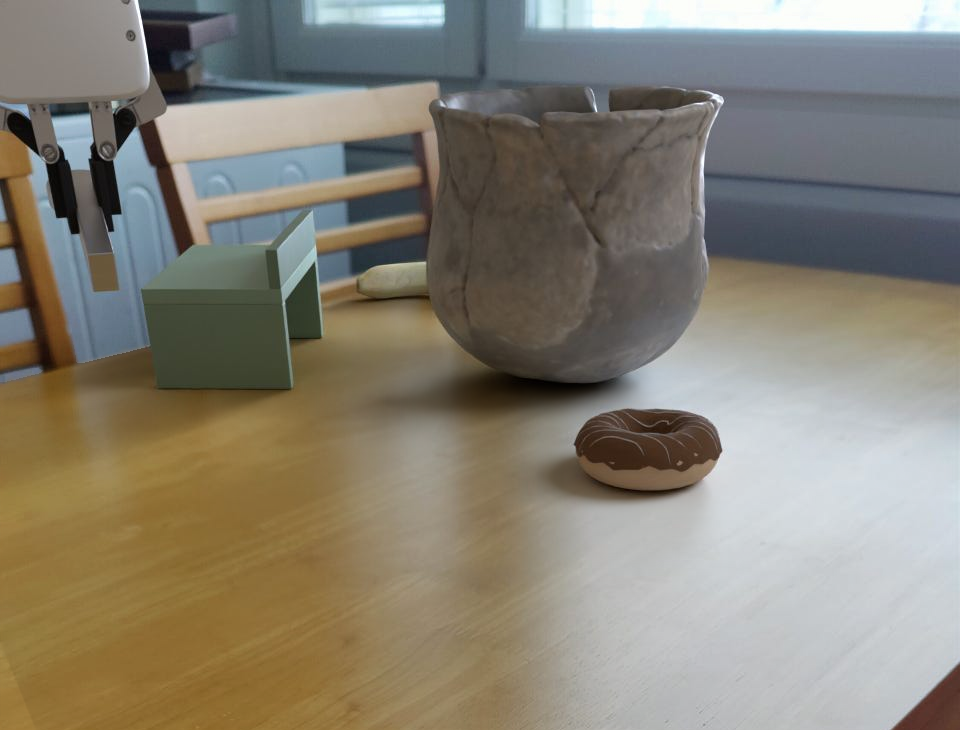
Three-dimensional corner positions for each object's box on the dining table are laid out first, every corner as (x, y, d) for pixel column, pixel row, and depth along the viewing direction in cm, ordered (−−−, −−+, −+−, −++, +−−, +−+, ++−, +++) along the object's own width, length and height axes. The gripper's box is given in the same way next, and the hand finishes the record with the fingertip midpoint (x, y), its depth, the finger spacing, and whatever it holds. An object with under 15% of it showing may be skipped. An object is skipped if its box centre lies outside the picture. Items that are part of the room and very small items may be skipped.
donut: (622, 510, 83) (626, 453, 81) (547, 463, 91) (548, 409, 88) (748, 483, 87) (755, 427, 85) (666, 440, 95) (670, 388, 92)
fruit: (374, 288, 136) (372, 256, 134) (505, 293, 133) (505, 260, 131) (354, 304, 131) (352, 271, 129) (490, 310, 128) (490, 276, 126)
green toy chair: (157, 388, 107) (133, 249, 100) (205, 334, 121) (187, 209, 114) (291, 389, 106) (276, 249, 100) (323, 334, 121) (313, 209, 114)
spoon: (142, 289, 76) (137, 251, 74) (70, 294, 75) (63, 255, 73) (112, 185, 83) (106, 148, 81) (45, 188, 82) (38, 151, 80)
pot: (596, 325, 122) (607, 74, 109) (757, 381, 106) (793, 96, 93) (380, 366, 112) (363, 94, 99) (523, 435, 96) (526, 122, 83)
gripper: (159, -133, 72) (203, 211, 83) (-121, -135, 68) (-35, 226, 79) (176, -137, 67) (220, 232, 78) (-129, -141, 63) (-36, 249, 74)
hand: (90, 227), depth 79 cm, fingers closed on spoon, 1 cm apart
